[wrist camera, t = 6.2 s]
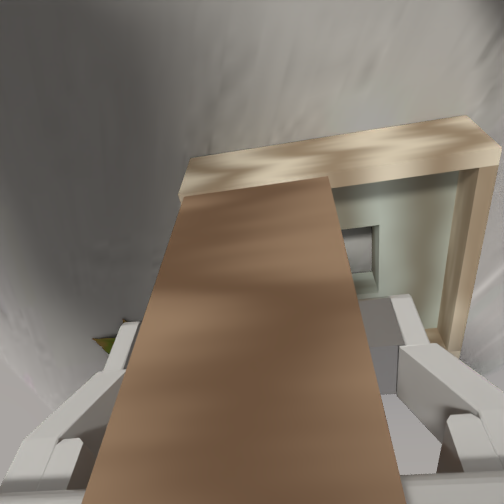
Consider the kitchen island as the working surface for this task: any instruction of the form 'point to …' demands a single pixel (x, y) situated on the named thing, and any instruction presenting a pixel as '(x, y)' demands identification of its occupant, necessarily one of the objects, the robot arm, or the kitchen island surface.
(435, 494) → the robot arm
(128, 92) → the kitchen island surface
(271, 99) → the kitchen island surface
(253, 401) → the peg
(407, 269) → the peg box
